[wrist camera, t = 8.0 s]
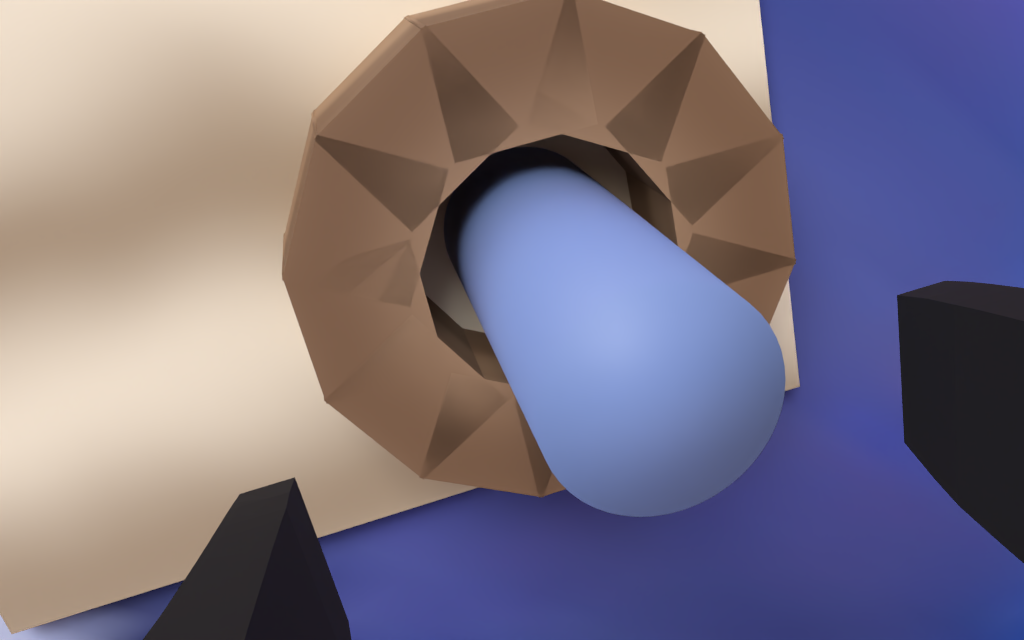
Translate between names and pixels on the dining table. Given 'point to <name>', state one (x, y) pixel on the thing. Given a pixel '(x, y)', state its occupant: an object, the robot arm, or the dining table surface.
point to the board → (195, 279)
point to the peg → (612, 337)
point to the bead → (458, 152)
